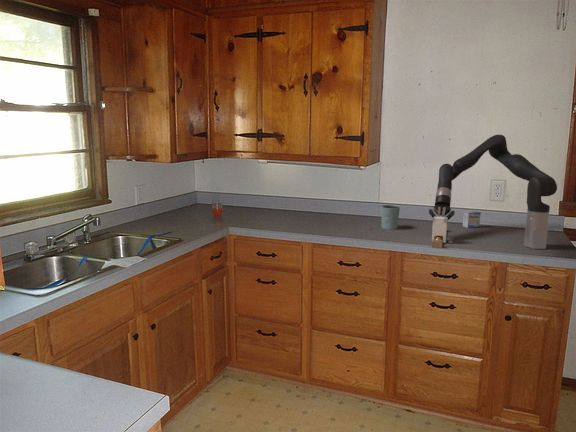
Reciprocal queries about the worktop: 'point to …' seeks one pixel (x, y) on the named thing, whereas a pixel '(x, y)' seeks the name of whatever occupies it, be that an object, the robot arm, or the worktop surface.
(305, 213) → the worktop surface
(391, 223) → the grey-green cup
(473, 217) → the medicine box
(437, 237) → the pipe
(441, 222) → the beige rectangular block
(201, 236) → the worktop surface
